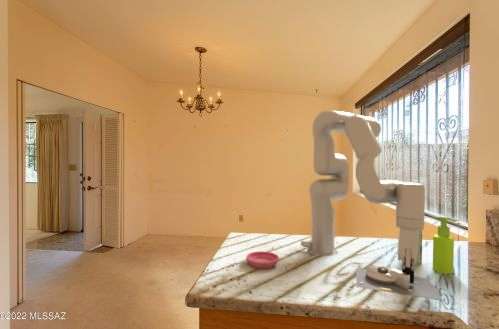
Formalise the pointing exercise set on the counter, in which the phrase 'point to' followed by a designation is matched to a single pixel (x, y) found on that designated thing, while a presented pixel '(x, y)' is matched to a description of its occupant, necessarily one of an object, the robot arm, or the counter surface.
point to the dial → (388, 276)
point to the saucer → (262, 259)
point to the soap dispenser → (443, 248)
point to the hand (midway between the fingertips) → (407, 281)
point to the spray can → (419, 250)
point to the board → (418, 288)
